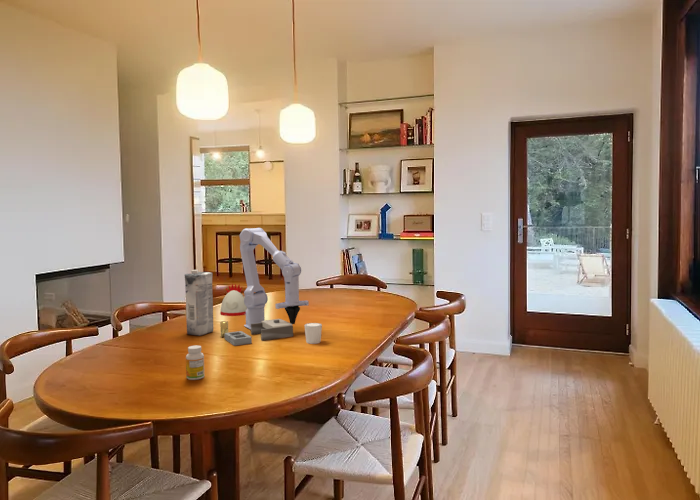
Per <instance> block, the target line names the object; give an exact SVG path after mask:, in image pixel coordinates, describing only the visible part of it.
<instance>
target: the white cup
mask: <svg viewBox="0 0 700 500" xmlns="http://www.w3.org/2000/svg"><path fill="white" fill-rule="evenodd" d="M322 328H323V325H322V323H321V322H320V323H318V322H308V323H305V324H304V334H305V341H306V342H305V343H306V344H310V345H311V344H312V345H315V344H320V343H321V342H322V341H321V340H322Z"/></svg>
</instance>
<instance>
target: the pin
mask: <svg viewBox="0 0 700 500" xmlns="http://www.w3.org/2000/svg"><path fill="white" fill-rule="evenodd" d="M219 323H220V325H219V326H220V338H225V333H229V321H226V320H224V321H220V322H219Z"/></svg>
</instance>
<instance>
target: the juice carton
mask: <svg viewBox="0 0 700 500" xmlns="http://www.w3.org/2000/svg"><path fill="white" fill-rule="evenodd" d="M190 270H191V269H190ZM190 272H191V273H184V283H185V286H184V287H185V288H184V289H185V309H186V310H185V311H186V312H185V313H186V314H185V317H186V334H187V335H192V336H203V335H206V334H207V335H208V334H209V333H212V332H214V304H213V303H214V302H213V301H214V299H213V298H214V297H213V272H211V271H210V272H209V271H199V269H192V270H191V271H190Z"/></svg>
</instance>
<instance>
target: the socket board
mask: <svg viewBox="0 0 700 500" xmlns="http://www.w3.org/2000/svg"><path fill="white" fill-rule="evenodd" d="M252 339H253V338H252V336H250V335H249V334H247V333H245V332H244V331H242V330H239V331H238V330H237V331H231V332H230V331H228V333H225V337H224V340H225V341H226V342H228V343H229V344H231V345H232V346H234V347H236V346H241V345H250V344H252V343H253V342H252Z"/></svg>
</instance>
